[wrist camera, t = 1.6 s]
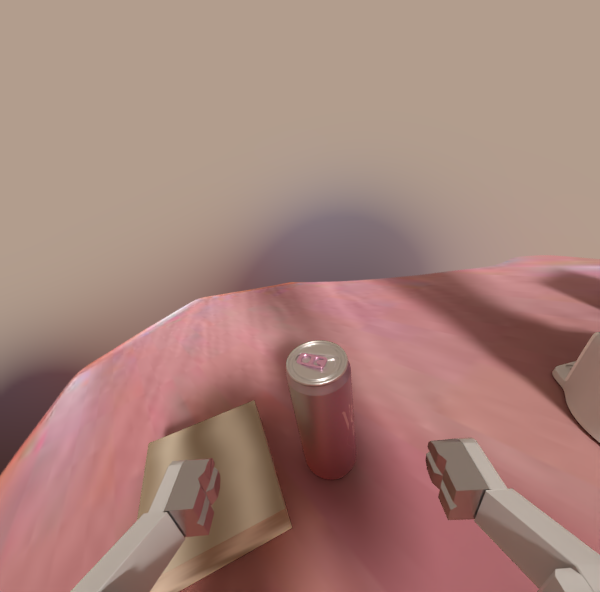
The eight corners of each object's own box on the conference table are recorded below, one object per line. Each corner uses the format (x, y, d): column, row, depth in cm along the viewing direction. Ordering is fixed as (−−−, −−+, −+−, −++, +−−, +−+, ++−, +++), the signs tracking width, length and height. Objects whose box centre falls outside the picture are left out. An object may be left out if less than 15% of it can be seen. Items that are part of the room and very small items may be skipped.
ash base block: (260, 419, 36) (254, 400, 34) (292, 527, 25) (285, 508, 23) (162, 462, 33) (148, 443, 31) (148, 608, 22) (126, 593, 20)
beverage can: (316, 424, 34) (300, 334, 27) (361, 439, 31) (357, 344, 24) (297, 470, 29) (271, 376, 22) (348, 492, 27) (338, 393, 20)
